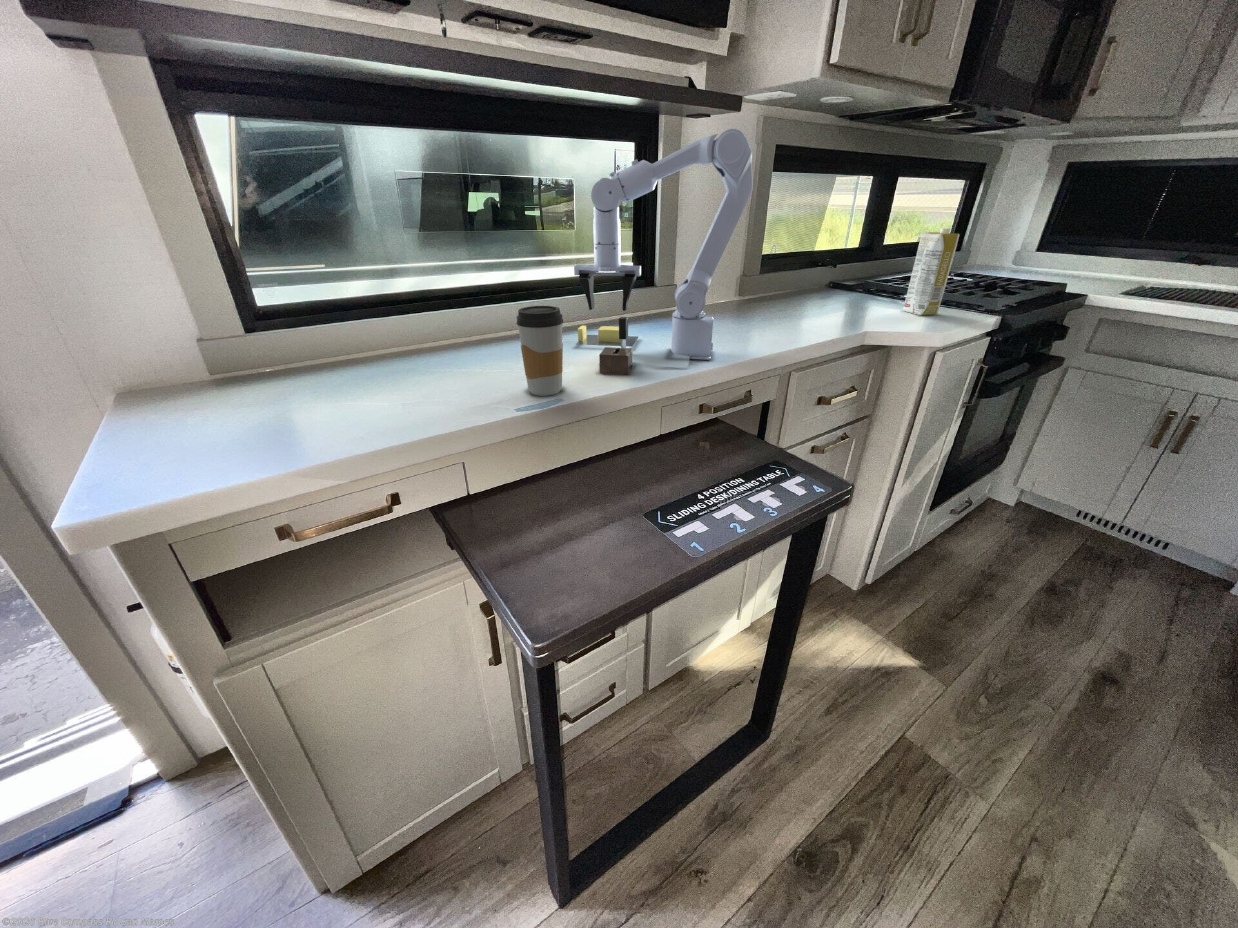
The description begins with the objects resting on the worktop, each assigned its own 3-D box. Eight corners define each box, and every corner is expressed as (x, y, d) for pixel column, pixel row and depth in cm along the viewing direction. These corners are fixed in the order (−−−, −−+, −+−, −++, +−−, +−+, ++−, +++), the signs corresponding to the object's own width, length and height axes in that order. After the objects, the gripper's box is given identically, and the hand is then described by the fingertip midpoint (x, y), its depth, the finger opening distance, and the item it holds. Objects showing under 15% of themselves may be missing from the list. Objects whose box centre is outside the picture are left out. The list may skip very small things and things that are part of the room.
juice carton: (942, 315, 155) (966, 229, 144) (919, 316, 154) (942, 229, 142) (919, 309, 163) (941, 227, 152) (898, 310, 162) (918, 228, 150)
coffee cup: (576, 390, 96) (572, 309, 89) (539, 401, 91) (531, 316, 84) (551, 380, 101) (545, 303, 94) (514, 390, 97) (506, 309, 90)
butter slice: (586, 337, 129) (586, 325, 127) (582, 341, 125) (582, 329, 124) (581, 337, 129) (581, 325, 128) (578, 341, 126) (577, 329, 124)
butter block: (625, 338, 127) (625, 326, 126) (622, 342, 124) (622, 330, 123) (601, 338, 128) (601, 326, 127) (598, 341, 125) (598, 329, 123)
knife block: (632, 366, 110) (632, 348, 108) (628, 374, 104) (628, 355, 103) (605, 365, 111) (605, 347, 109) (599, 373, 105) (599, 354, 103)
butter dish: (638, 340, 130) (638, 336, 130) (632, 350, 121) (632, 346, 121) (585, 338, 132) (585, 334, 132) (575, 348, 123) (575, 344, 123)
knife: (628, 356, 117) (628, 316, 112) (625, 360, 114) (625, 319, 110) (622, 356, 117) (621, 316, 113) (618, 359, 114) (618, 319, 110)
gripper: (569, 245, 105) (572, 312, 112) (638, 245, 103) (637, 313, 109) (577, 242, 111) (580, 306, 118) (642, 243, 109) (641, 307, 115)
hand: (608, 309), depth 114 cm, fingers open, 7 cm apart
